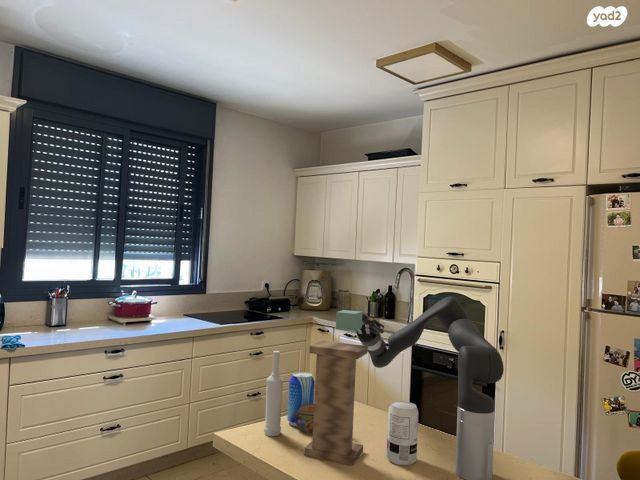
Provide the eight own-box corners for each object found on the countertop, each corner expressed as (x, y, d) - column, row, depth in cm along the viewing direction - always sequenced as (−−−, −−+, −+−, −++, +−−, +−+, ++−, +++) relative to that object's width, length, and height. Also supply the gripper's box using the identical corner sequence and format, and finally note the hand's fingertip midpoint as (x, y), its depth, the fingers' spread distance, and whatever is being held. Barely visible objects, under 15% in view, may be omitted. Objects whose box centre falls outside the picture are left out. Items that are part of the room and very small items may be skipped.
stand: (362, 451, 132) (367, 346, 134) (352, 465, 123) (357, 351, 124) (317, 442, 138) (322, 340, 139) (304, 455, 128) (309, 345, 130)
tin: (294, 431, 146) (295, 404, 146) (295, 427, 149) (297, 401, 149) (342, 435, 144) (343, 408, 144) (342, 432, 147) (343, 405, 148)
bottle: (277, 437, 140) (282, 353, 141) (261, 435, 141) (265, 352, 142) (282, 431, 145) (286, 350, 146) (266, 429, 146) (271, 349, 147)
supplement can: (381, 455, 131) (383, 401, 131) (406, 452, 134) (408, 399, 134) (395, 468, 123) (398, 410, 124) (422, 464, 126) (424, 408, 127)
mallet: (371, 323, 153) (372, 308, 153) (355, 331, 135) (355, 313, 136) (354, 321, 155) (355, 306, 155) (335, 329, 138) (336, 312, 138)
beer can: (283, 420, 155) (286, 371, 156) (306, 418, 158) (309, 370, 159) (292, 429, 147) (295, 378, 148) (316, 426, 151) (319, 376, 151)
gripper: (352, 324, 167) (340, 303, 153) (391, 328, 162) (381, 307, 148) (348, 344, 163) (335, 324, 150) (387, 349, 158) (378, 329, 145)
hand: (358, 316), depth 149 cm, fingers closed on mallet, 2 cm apart
